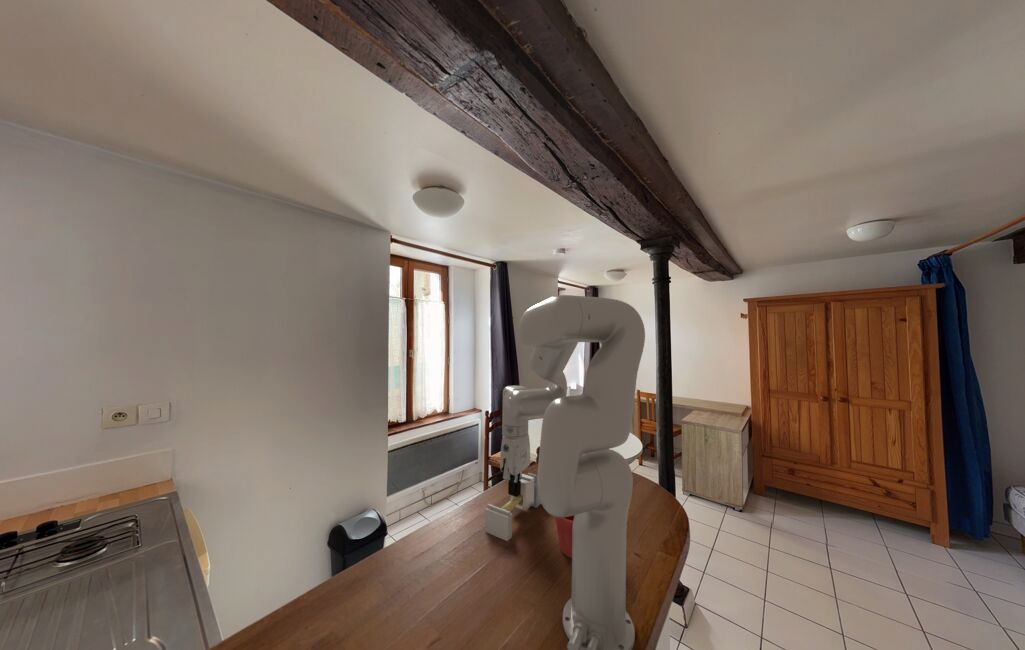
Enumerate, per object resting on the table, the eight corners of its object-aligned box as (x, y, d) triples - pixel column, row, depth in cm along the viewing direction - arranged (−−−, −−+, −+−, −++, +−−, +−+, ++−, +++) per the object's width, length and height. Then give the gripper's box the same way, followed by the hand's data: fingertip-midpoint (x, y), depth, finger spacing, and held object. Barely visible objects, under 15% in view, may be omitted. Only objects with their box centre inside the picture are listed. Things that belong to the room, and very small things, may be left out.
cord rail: (507, 541, 81) (508, 505, 81) (485, 531, 84) (486, 497, 85) (543, 504, 98) (544, 475, 99) (524, 498, 102) (524, 469, 102)
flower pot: (547, 554, 76) (547, 513, 76) (562, 530, 86) (562, 493, 86) (591, 570, 71) (591, 526, 71) (601, 542, 81) (602, 504, 81)
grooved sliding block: (525, 510, 91) (526, 483, 91) (510, 505, 93) (510, 478, 94) (533, 503, 95) (534, 476, 95) (518, 497, 98) (519, 472, 98)
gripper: (513, 438, 83) (512, 510, 82) (538, 425, 95) (537, 487, 95) (489, 434, 86) (488, 502, 86) (516, 421, 99) (516, 481, 99)
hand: (514, 494), depth 90 cm, fingers closed
